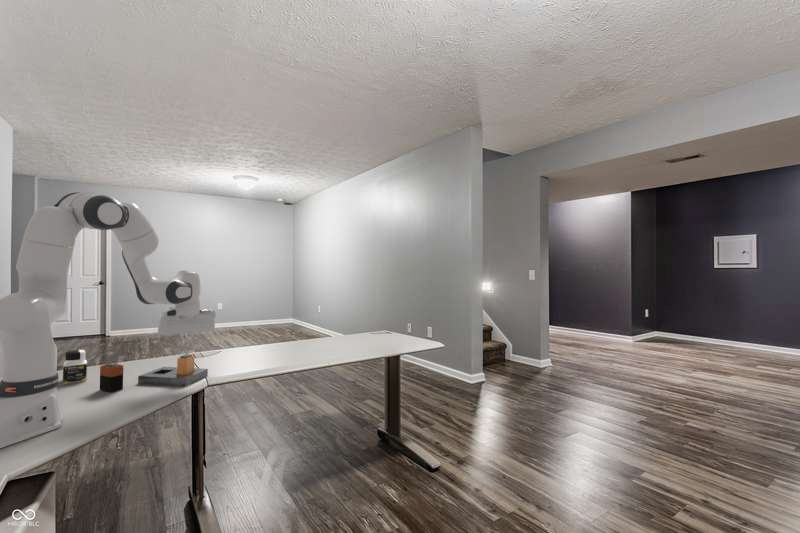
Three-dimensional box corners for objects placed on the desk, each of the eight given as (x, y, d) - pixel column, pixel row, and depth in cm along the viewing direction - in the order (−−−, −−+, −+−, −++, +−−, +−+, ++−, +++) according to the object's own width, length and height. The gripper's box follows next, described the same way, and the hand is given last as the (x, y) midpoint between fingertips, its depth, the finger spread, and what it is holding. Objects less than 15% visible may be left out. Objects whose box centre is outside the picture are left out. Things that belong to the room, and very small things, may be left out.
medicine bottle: (62, 384, 144) (63, 353, 144) (63, 379, 149) (63, 350, 149) (86, 381, 149) (87, 351, 149) (86, 376, 154) (87, 347, 154)
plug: (186, 380, 150) (187, 356, 150) (176, 380, 150) (177, 356, 150) (193, 377, 155) (194, 354, 155) (184, 376, 155) (185, 353, 155)
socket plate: (186, 386, 145) (186, 378, 145) (138, 383, 147) (138, 376, 147) (207, 375, 159) (207, 368, 159) (163, 373, 161) (163, 366, 161)
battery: (111, 392, 136) (111, 365, 136) (98, 390, 138) (99, 363, 138) (123, 389, 140) (124, 362, 140) (111, 386, 142) (112, 360, 142)
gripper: (214, 308, 161) (213, 340, 161) (158, 310, 149) (157, 345, 149) (216, 309, 156) (216, 342, 156) (159, 312, 144) (158, 348, 144)
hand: (186, 344), depth 153 cm, fingers closed
